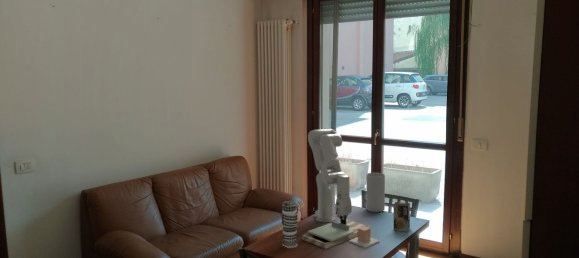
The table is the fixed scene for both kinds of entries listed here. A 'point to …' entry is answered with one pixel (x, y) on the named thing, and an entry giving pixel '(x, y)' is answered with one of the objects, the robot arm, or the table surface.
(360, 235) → the terracotta block
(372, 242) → the grey mat
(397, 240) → the table surface
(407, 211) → the coffee box
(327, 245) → the well frame
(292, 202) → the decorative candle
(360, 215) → the table surface
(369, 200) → the cylinder vase
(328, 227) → the sliding lid
